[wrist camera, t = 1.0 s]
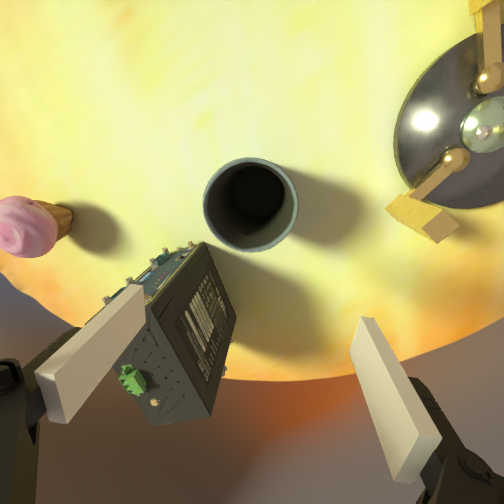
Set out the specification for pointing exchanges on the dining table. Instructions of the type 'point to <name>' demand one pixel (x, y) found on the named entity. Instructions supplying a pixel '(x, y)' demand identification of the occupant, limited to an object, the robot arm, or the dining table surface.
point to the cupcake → (31, 226)
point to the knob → (425, 215)
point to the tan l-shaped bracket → (488, 46)
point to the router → (178, 337)
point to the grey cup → (250, 204)
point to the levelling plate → (453, 130)
